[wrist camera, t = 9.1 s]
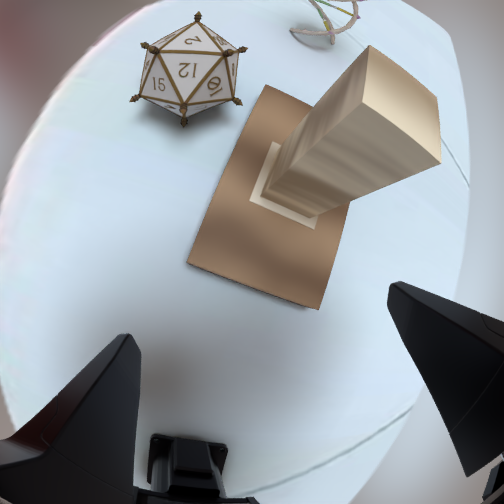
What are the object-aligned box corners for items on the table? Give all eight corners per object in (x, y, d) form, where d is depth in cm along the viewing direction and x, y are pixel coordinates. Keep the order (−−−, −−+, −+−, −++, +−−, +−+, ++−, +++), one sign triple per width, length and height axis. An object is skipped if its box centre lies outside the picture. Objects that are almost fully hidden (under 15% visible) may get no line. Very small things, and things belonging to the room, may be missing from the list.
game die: (179, 105, 24) (191, 14, 16) (253, 127, 22) (278, 22, 15) (108, 134, 18) (111, 14, 10) (191, 164, 16) (213, 5, 9)
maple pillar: (309, 218, 20) (441, 163, 8) (260, 196, 19) (362, 102, 7) (322, 173, 20) (436, 97, 9) (276, 150, 19) (369, 44, 8)
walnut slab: (307, 307, 21) (319, 310, 19) (186, 263, 19) (186, 261, 17) (352, 144, 24) (364, 136, 22) (259, 96, 22) (266, 83, 20)
